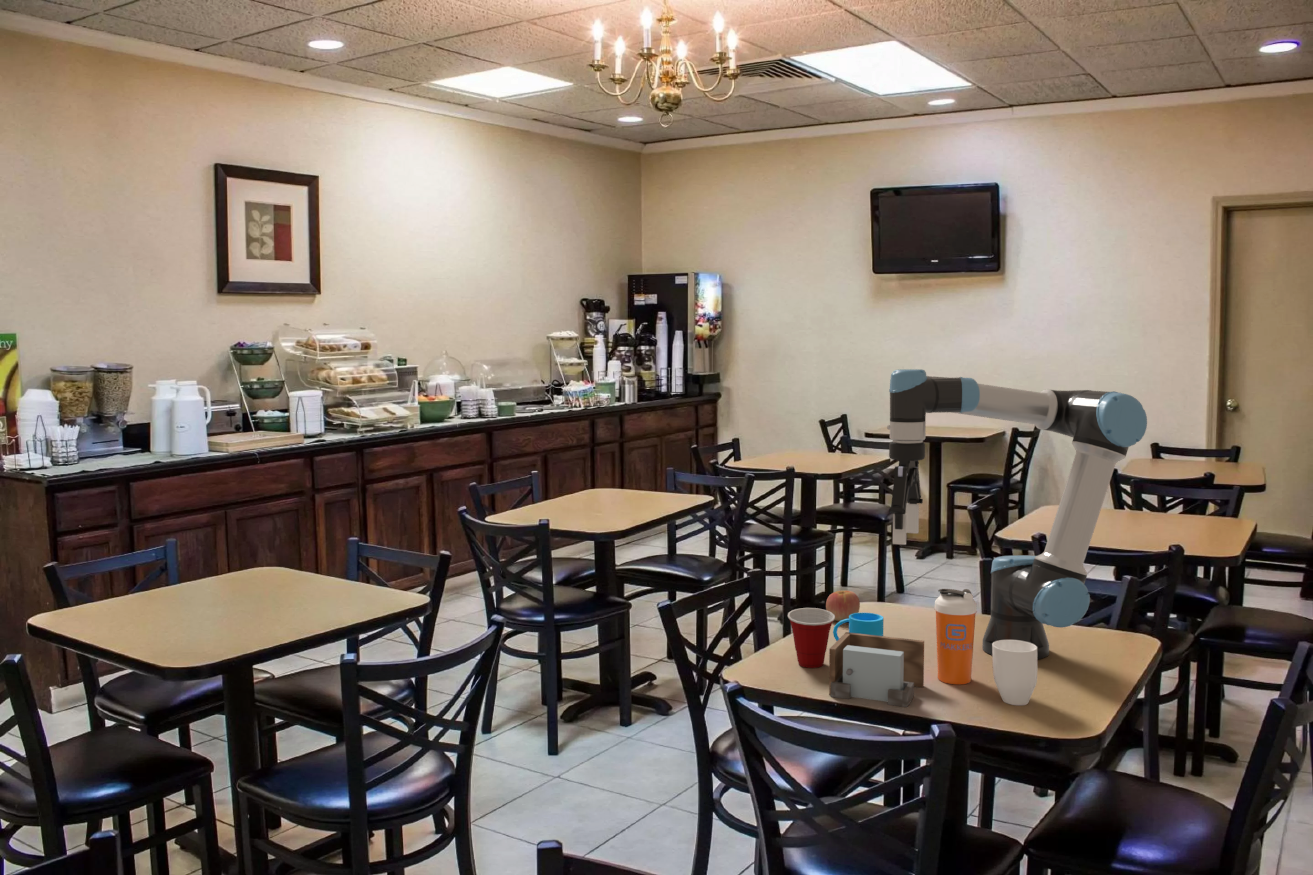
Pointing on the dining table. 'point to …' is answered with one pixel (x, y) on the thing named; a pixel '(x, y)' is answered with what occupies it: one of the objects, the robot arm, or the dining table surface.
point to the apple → (843, 604)
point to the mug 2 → (1015, 670)
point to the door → (872, 671)
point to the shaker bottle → (955, 635)
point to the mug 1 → (862, 624)
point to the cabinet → (908, 646)
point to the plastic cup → (811, 634)
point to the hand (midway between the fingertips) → (905, 538)
